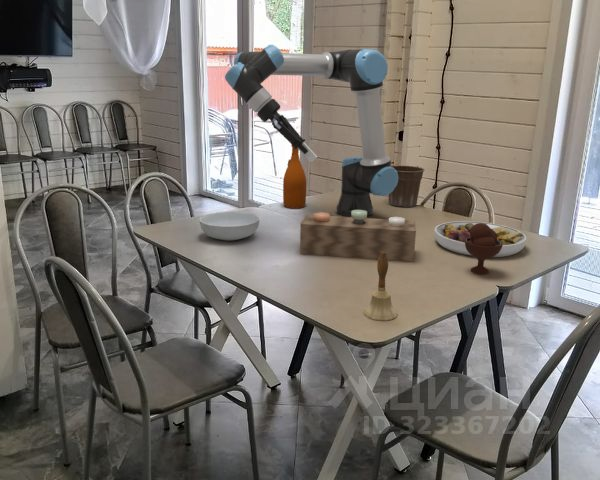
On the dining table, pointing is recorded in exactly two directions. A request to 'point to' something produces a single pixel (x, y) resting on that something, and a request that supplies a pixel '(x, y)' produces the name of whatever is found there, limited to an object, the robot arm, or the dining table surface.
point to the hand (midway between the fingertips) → (314, 159)
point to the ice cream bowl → (482, 246)
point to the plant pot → (406, 186)
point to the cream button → (396, 221)
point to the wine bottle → (294, 182)
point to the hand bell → (381, 296)
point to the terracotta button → (321, 217)
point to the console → (357, 238)
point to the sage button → (359, 216)
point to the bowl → (456, 232)
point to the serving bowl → (229, 225)
